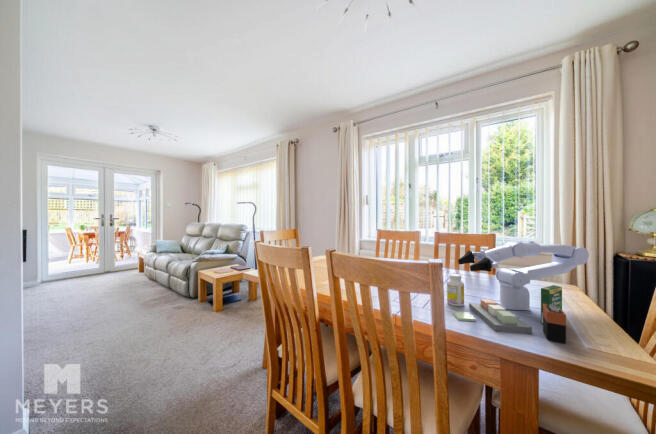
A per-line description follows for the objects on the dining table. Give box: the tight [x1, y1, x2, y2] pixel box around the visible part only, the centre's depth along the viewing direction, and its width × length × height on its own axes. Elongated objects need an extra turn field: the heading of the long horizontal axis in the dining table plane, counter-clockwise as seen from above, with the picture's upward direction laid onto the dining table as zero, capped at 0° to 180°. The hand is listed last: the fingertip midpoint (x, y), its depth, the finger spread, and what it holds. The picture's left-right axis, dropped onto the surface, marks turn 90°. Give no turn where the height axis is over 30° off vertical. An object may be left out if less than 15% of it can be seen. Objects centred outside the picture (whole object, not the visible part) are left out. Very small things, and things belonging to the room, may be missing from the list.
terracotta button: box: [480, 298, 498, 310], centre depth 94 cm, size 4×4×3 cm
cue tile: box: [452, 311, 477, 322], centre depth 90 cm, size 6×6×1 cm
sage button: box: [497, 310, 517, 324], centre depth 82 cm, size 4×4×3 cm
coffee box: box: [540, 284, 563, 325], centre depth 85 cm, size 8×3×13 cm, turn 111°
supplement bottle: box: [446, 273, 465, 307], centre depth 103 cm, size 7×7×13 cm
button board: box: [468, 302, 533, 334], centre depth 88 cm, size 11×20×2 cm, turn 171°
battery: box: [542, 304, 567, 345], centre depth 75 cm, size 4×7×10 cm, turn 146°
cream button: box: [488, 304, 507, 316], centre depth 88 cm, size 4×4×3 cm
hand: (464, 265), depth 99 cm, fingers open, 7 cm apart
